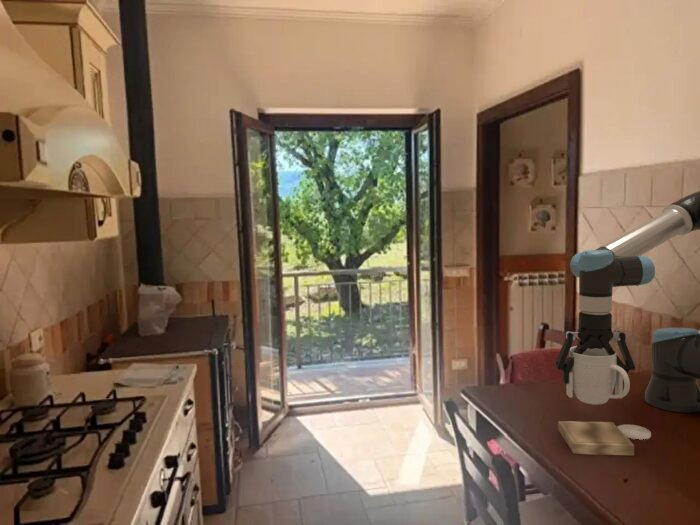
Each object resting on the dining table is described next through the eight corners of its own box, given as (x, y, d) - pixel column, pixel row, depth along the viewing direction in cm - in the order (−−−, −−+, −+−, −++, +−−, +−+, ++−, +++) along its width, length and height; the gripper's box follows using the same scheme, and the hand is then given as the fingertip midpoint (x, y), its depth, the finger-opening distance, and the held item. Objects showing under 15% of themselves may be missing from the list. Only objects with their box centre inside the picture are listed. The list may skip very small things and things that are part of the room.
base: (612, 431, 138) (612, 421, 138) (634, 455, 125) (634, 444, 124) (558, 430, 140) (558, 420, 140) (573, 453, 126) (573, 443, 126)
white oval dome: (641, 427, 140) (641, 424, 140) (657, 440, 133) (657, 437, 132) (611, 428, 141) (611, 424, 141) (625, 441, 133) (625, 437, 133)
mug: (640, 405, 127) (641, 354, 126) (616, 416, 121) (616, 362, 120) (584, 389, 140) (584, 342, 139) (559, 399, 134) (559, 350, 133)
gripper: (638, 308, 131) (636, 391, 133) (542, 309, 134) (542, 390, 136) (652, 314, 124) (649, 402, 126) (550, 314, 127) (549, 400, 129)
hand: (593, 396), depth 131 cm, fingers closed on mug, 11 cm apart
